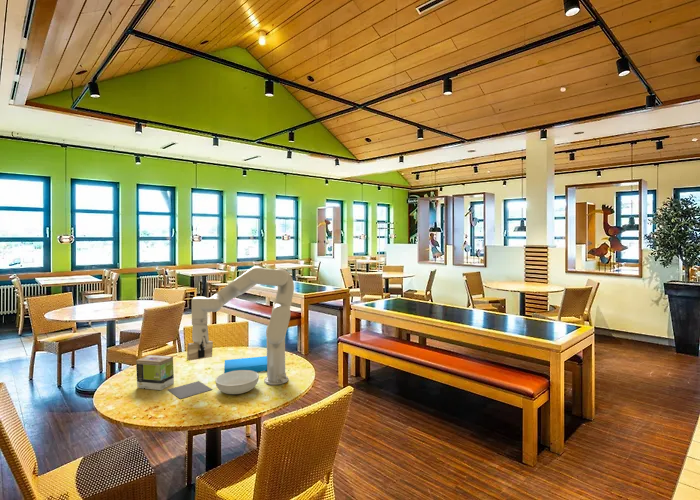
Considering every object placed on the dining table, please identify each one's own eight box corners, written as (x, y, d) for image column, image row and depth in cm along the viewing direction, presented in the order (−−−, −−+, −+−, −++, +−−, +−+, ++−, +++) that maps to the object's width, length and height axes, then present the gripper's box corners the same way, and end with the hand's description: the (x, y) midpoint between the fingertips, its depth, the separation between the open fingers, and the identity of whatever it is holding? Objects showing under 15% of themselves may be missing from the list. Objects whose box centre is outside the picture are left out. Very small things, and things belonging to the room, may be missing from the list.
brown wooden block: (212, 357, 210) (212, 341, 210) (188, 360, 202) (189, 344, 202) (209, 355, 212) (210, 340, 212) (186, 359, 204) (187, 343, 204)
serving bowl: (214, 386, 209) (214, 373, 209) (256, 380, 216) (255, 367, 216) (216, 402, 189) (216, 387, 189) (261, 395, 197) (261, 381, 196)
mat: (212, 390, 203) (212, 389, 203) (180, 399, 192) (180, 398, 192) (198, 382, 215) (198, 381, 215) (167, 390, 203) (167, 389, 203)
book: (224, 360, 240) (267, 355, 248) (224, 367, 241) (267, 362, 248) (224, 369, 224) (270, 363, 231) (224, 377, 224) (270, 371, 231)
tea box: (174, 383, 213) (173, 356, 212) (160, 391, 203) (159, 362, 202) (150, 381, 217) (149, 354, 216) (136, 388, 207) (135, 359, 206)
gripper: (213, 322, 203) (213, 358, 204) (200, 317, 215) (200, 351, 216) (198, 324, 198) (199, 362, 199) (186, 319, 210) (186, 354, 211)
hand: (199, 356), depth 207 cm, fingers closed on brown wooden block, 2 cm apart
